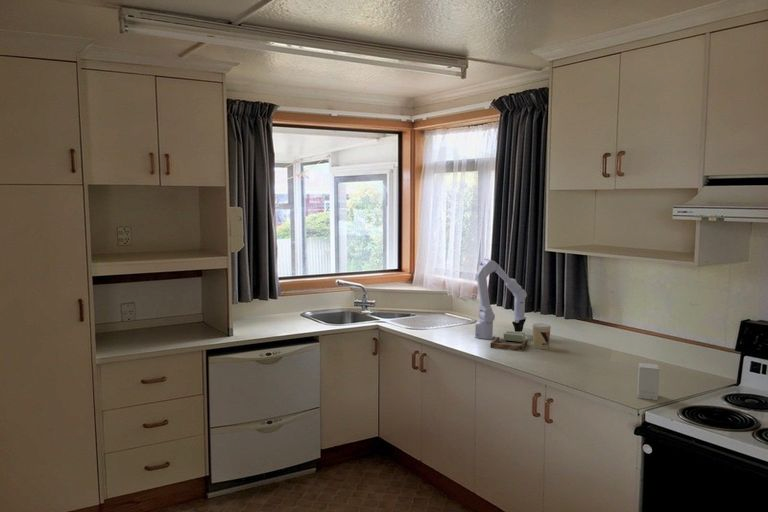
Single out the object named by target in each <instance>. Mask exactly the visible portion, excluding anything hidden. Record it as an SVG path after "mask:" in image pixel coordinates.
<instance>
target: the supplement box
mask: <svg viewBox="0 0 768 512" xmlns="http://www.w3.org/2000/svg"><path fill="white" fill-rule="evenodd" d="M637 372H638V374H637V391H636V392H637V398H638V399H643V398H644V399H646V400H651V399H652V401H658V399H659V384H660V383H659V382H660V381H659V379H660V367H659V364H658V363H657V364H655V363H646V362H645V363H644V362H643V363H641V362H639V363H638V371H637ZM644 399H643V400H644Z"/></svg>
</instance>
